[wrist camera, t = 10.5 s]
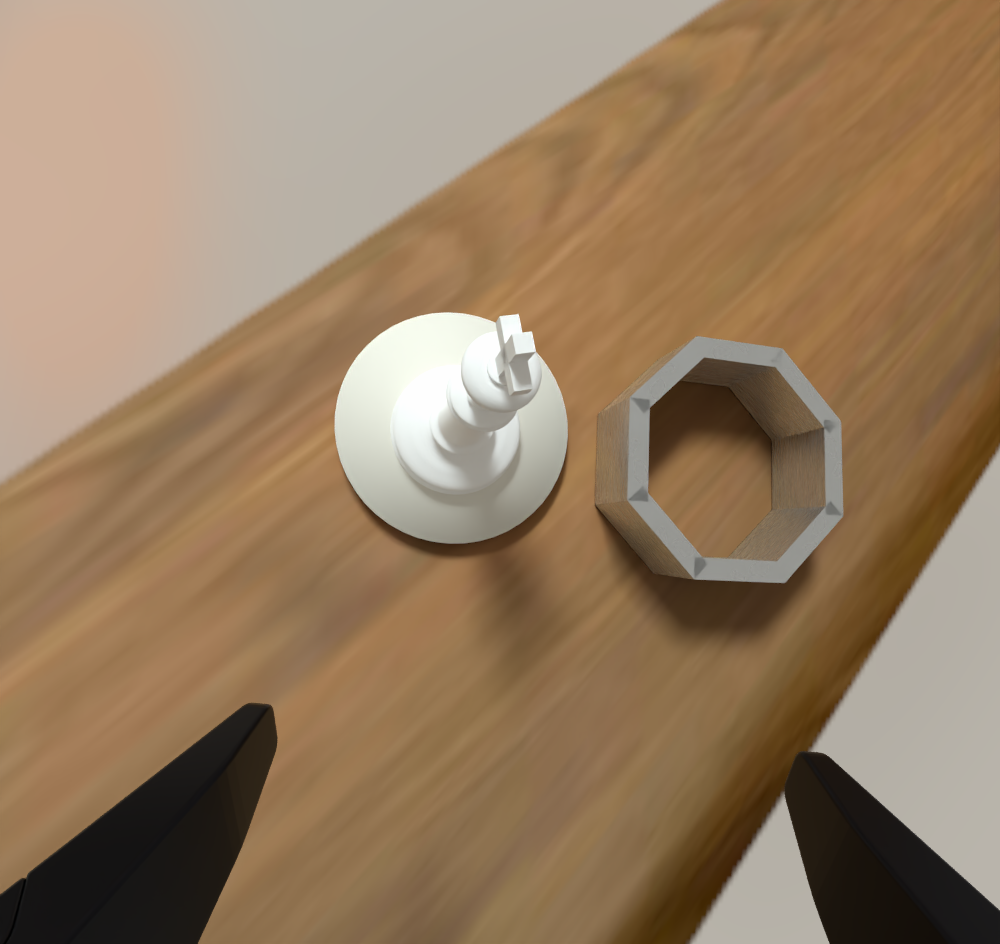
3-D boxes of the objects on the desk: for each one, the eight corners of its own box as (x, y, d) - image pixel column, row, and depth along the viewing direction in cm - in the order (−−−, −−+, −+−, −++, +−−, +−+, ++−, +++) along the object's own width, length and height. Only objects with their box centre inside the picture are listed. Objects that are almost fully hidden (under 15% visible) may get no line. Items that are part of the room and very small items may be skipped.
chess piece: (505, 360, 22) (608, 222, 12) (528, 482, 21) (654, 441, 12) (380, 376, 21) (383, 237, 11) (402, 505, 20) (427, 479, 11)
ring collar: (694, 621, 23) (740, 634, 20) (552, 454, 22) (579, 443, 20) (823, 479, 25) (881, 472, 22) (697, 324, 25) (740, 295, 22)
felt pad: (443, 592, 21) (445, 594, 20) (283, 412, 20) (281, 408, 20) (604, 442, 23) (611, 440, 22) (464, 275, 22) (466, 269, 22)
